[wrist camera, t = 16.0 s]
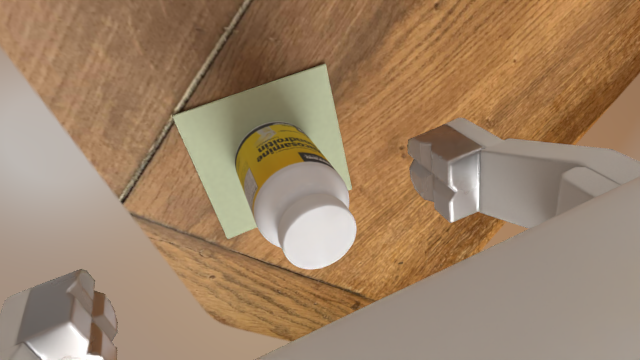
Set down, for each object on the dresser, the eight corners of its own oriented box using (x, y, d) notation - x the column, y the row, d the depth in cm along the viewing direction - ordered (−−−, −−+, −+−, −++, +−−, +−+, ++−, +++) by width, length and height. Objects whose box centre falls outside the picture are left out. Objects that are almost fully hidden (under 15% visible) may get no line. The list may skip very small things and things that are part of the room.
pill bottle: (322, 132, 35) (389, 204, 26) (291, 197, 37) (343, 286, 28) (250, 107, 32) (296, 179, 23) (220, 180, 34) (251, 274, 25)
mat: (227, 237, 37) (227, 239, 37) (172, 115, 31) (172, 116, 30) (351, 188, 39) (352, 189, 39) (324, 63, 33) (325, 64, 33)
